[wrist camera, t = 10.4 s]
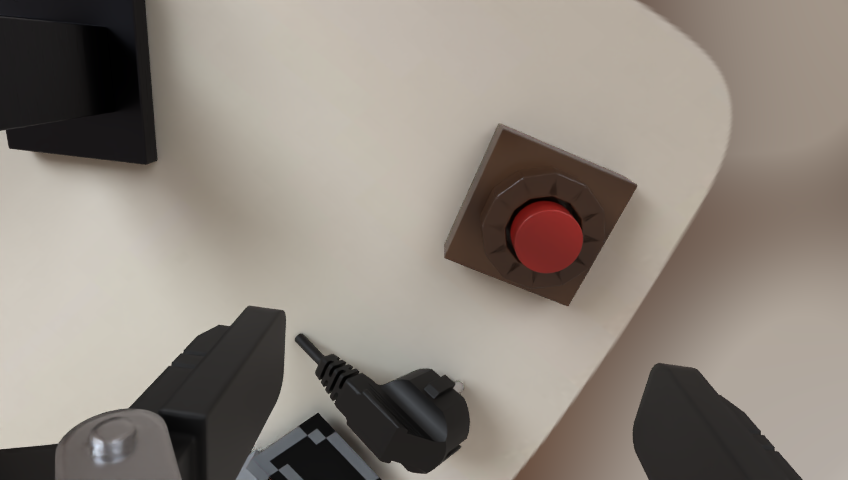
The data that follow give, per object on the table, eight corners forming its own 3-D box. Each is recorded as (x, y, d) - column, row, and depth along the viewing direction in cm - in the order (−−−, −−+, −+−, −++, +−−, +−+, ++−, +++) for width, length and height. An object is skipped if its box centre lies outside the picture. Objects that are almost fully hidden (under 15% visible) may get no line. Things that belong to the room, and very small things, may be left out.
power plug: (303, 305, 32) (442, 440, 26) (379, 290, 38) (504, 396, 32) (275, 372, 34) (399, 511, 28) (352, 347, 40) (465, 457, 34)
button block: (498, 122, 28) (507, 132, 24) (624, 176, 29) (651, 193, 25) (443, 244, 31) (443, 270, 27) (560, 290, 32) (575, 322, 28)
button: (527, 190, 26) (533, 199, 24) (586, 214, 26) (596, 225, 24) (499, 247, 27) (503, 259, 25) (556, 269, 27) (563, 283, 26)
